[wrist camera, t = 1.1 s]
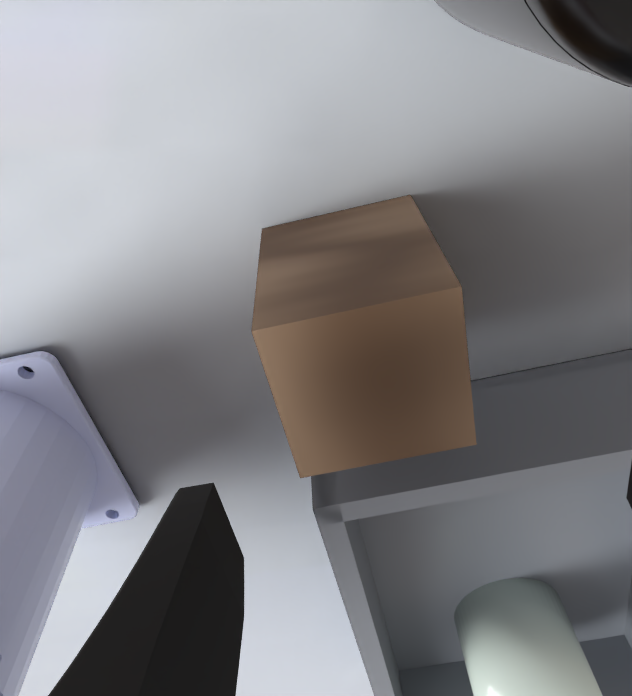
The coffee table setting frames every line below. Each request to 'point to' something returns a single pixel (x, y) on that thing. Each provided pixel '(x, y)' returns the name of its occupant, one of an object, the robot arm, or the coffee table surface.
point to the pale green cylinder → (521, 642)
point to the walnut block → (363, 338)
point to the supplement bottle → (558, 30)
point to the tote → (493, 526)
